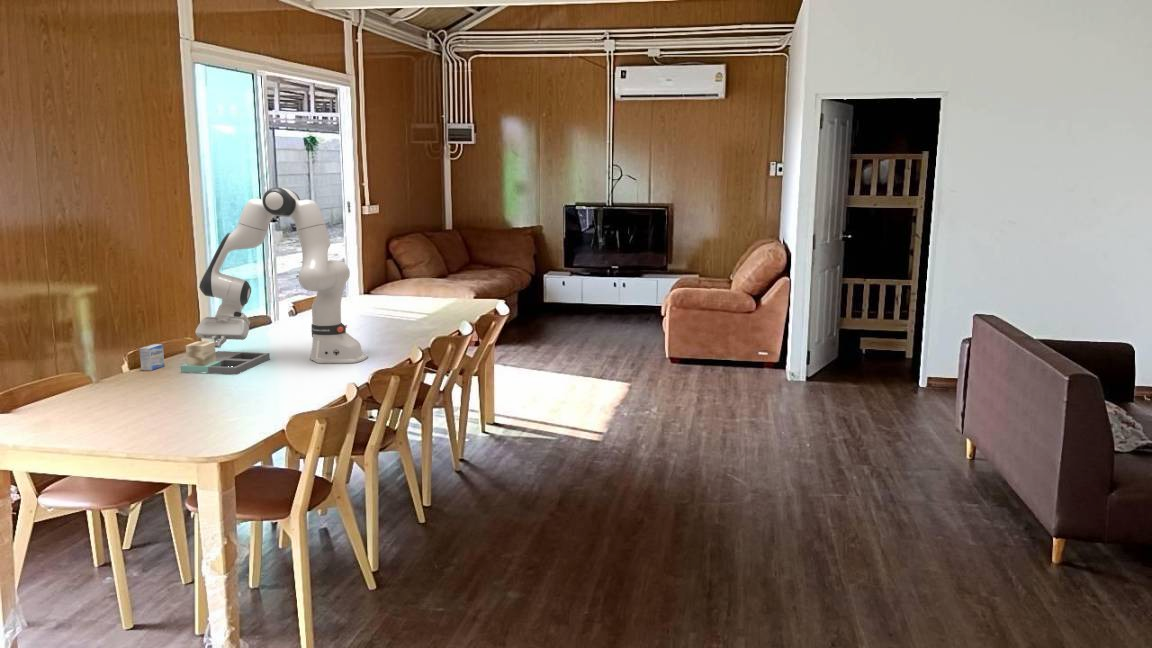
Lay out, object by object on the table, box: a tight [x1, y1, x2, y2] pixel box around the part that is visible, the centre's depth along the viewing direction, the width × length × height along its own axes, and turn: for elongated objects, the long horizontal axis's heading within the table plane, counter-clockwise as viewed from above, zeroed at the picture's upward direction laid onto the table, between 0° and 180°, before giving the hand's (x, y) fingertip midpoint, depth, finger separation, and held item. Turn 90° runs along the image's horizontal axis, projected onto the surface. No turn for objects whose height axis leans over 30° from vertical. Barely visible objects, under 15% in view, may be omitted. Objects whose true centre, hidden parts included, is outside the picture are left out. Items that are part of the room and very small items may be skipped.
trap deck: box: [180, 350, 271, 375], centre depth 342 cm, size 22×26×2 cm
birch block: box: [185, 340, 216, 366], centre depth 334 cm, size 7×8×8 cm
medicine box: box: [139, 343, 166, 372], centre depth 336 cm, size 8×4×9 cm, turn 168°
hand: (215, 346), depth 344 cm, fingers closed
